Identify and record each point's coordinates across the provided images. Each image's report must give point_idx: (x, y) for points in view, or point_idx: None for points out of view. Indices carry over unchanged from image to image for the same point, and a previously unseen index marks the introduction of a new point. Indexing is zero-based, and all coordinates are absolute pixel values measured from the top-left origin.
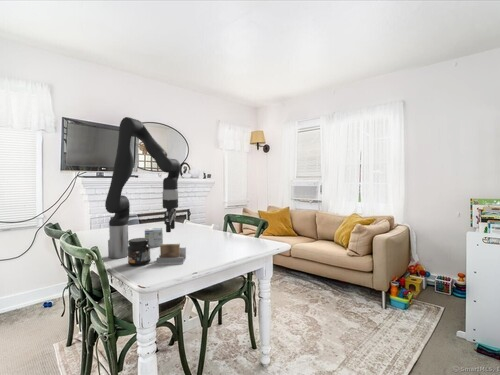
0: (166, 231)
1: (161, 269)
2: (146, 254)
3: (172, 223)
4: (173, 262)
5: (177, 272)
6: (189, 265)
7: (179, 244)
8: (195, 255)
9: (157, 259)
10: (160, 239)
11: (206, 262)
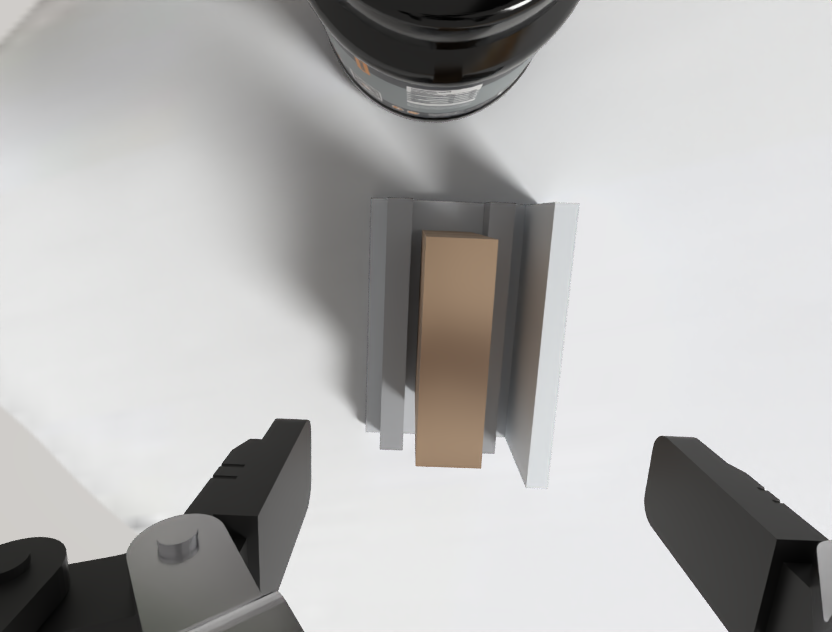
0: (276, 429)
1: (234, 277)
2: (367, 78)
3: (729, 567)
4: (368, 354)
5: (155, 415)
6: (321, 479)
7: (472, 464)
8: (606, 496)
9: (387, 207)
10: None
11: (384, 592)
